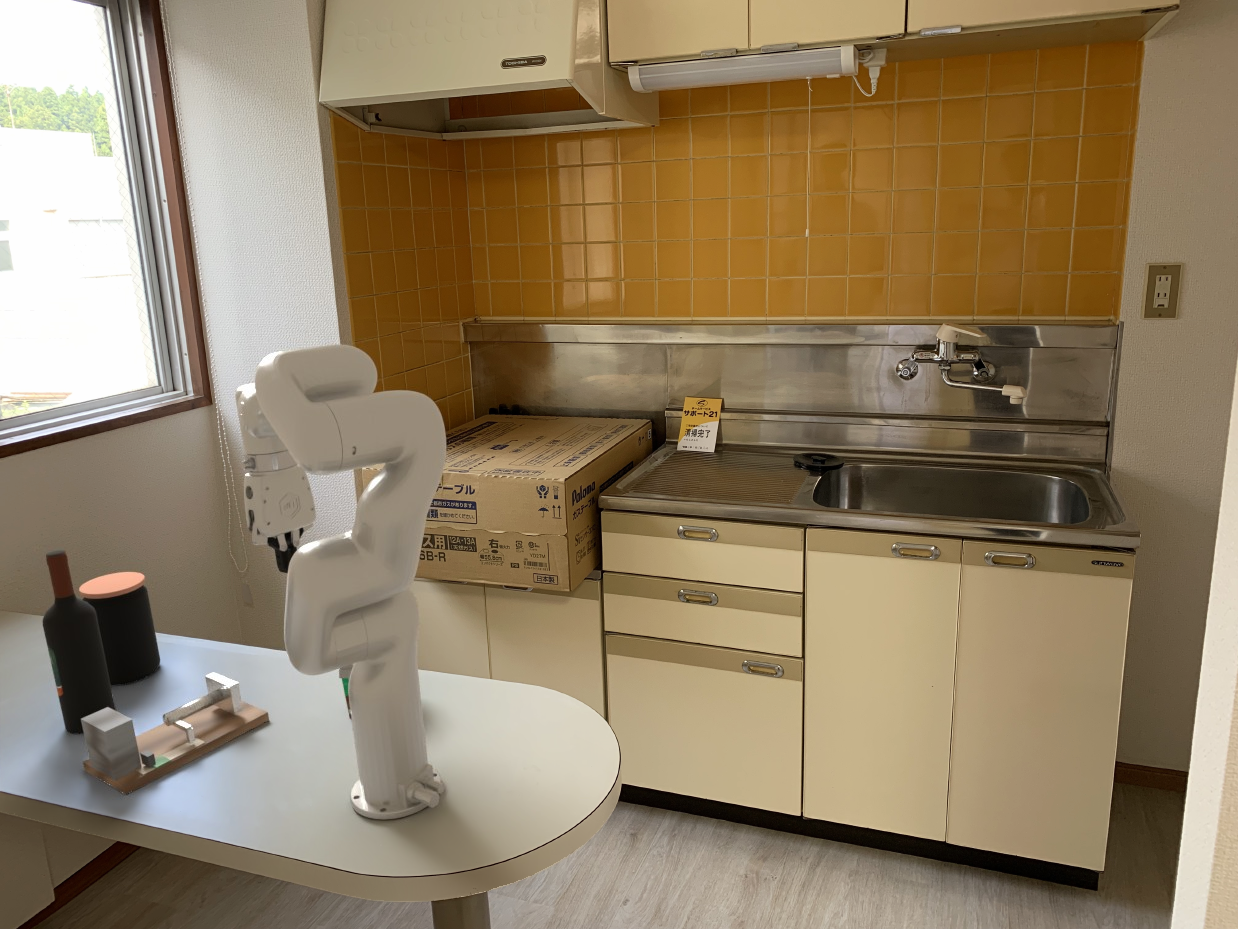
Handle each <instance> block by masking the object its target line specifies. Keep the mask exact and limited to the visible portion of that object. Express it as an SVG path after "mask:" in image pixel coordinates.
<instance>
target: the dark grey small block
mask: <svg viewBox="0 0 1238 929" xmlns="http://www.w3.org/2000/svg"><path fill="white" fill-rule="evenodd" d="M140 754H141V759H142V764H144V765H146V766H147V767H149V768H150V767H152V766H154V765H156V762H155V756H154V753H152V752H150V751H148V750H145V751H143V752H141V753H140Z"/></svg>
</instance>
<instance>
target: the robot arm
mask: <svg viewBox="0 0 1238 929" xmlns="http://www.w3.org/2000/svg"><path fill="white" fill-rule="evenodd" d="M377 383H378V370H377V367H376V365H375V363H374V361H373V359H372V358H371V357H370V355H368V354H367V353H366V352H365V351H364V350H362V349H360V348H358V347H356V346H352V345H349V344H329V345H319V346H312V347H311V346H310V347H305V348H298V349H288V350H281V351H276V352H273V353H269V354H268V355H267V356H265V357H264V358H263V359H262V361H260V363H259V365H258V366H257V369H256V371H255V376H254V382H252V383H247V384H243V385H240V386H239V387H238V388H237V389H236V391H235V394H234V395H235V403H236V409H237V416H238V421H239V428H240V433H241V440H242V447H243V451H244V455H243V456H244V457H243V458H244V459H243V460H241V461H240V462H239V467H240V469H241V470H243V471H244V470H246V472H247V473H245V474H244V480H243V483H244V484H243V498H244V511H245V519H246V525H247V529H248V532H249V533H250V534H251V543H252V544H253V545H256V546H268V547H269V548H271V550H274V554H275V561H276V566H277V568H278V571H279V572H280V573H284V574H287V578H286V591H285V608H284V619H283V621H284V623H283V639H284V641H283V642H284V648H285V650H286V655H287V657H288V660H289V662H290V664H291V665H292V666H293V668H294V669H295V670H296V671H297V672H299V673H301V674H303V675H306V676H319V675H324V674H326V673H327V674H328V673H331V672H333V671H336V670H339V669H340V668H342V667H345V666H348V665H351V664H354V666H353V668H352V671H351V674H350V678H349V684H348V694H349V703H350V711H351V718H350V719H351V724H352V732H353V740H354V746H355V748H354V749H355V755H356V756H355V757H356V762H357V770H358V778H359V779H358V780H356V782H355V783H354V785H352V787H351V790H350V792H349V793H350V794H349V799H350V804H351V806H352V808H353V809H354V811H355V812H356V813H357V814H359V815H361V816H363V817H366V818H369V819H373V820H395V819H400V818H404V817H407V816H411V815H413V814H416V813H418V812H420V811H422V810H424V809H425V808H427V807H429V808H432V809H433V808H436V807H437V805H438V804H439V802H440V798H441V796H440V794H442V793H444V791H445V790H446V785H445V783H443V782H442V778H441V774H440V772H439V771H438V770H437V769H436V768H434V767H433V765H432V764H429V759H428V750H427V749H428V748H427V741H426V733H425V732H426V731H425V723H424V714H423V706H422V696H421V684H420V676H419V666H418V664H419V663H418V644H419V642H418V641H419V630H420V609H419V604H418V601H417V598H416V596H415V593H414V592H413V591H412V589H411V588H410V587H411V586H412V585H413V583H414V580H415V577H416V574H417V571H418V567H419V561H420V558H421V557H420V556H421V551H422V545H423V540H424V535H425V531H426V530H425V529H426V522H427V517H428V513H429V510H430V508H431V504H432V502H433V500H434V497H435V495H436V493H437V491H438V488H439V485H440V482H441V480H442V478H443V477H442V476H443V473H444V468H445V465H446V464H445V463H446V459H447V458H446V456H447V436H446V429H445V422H444V420H443V416H442V413H441V411H440V409H439V407H438V405H437V404H436V403H435V401H434V400H433V399H431V397H429V396H428V395H426V394H424V393H421V392H417V391H414V390H413V391H412V390H407V389H406V390H404V389H403V390H402V389H400V390H397V389H396V390H385V391H384V390H383V391H378V392H377V391H376V392H374V391H375V390H376V386H377ZM380 464H381V465H382V464H384V466H383V467H382V468H381V469H380V470H379V471H378V472H377V474H376V475H374V476H373V478H372V479H371V480H370V482H369V483H368V484H367V486H366V487H364V488H365V489H364V490H363V492H362V494H361V495H360V497H359V499H358V502H357V505H356V509H355V517H354V518H355V519H354V525H353V526H352V528H350V529H349V530H347V531H344V532H342V533H339V534H335V535H332V536H327V537H325V538H320V539H317V540H313V541H311V542H308V543H305V544H304V545H302V546H301V547H299V545H300V543H301V542H300V540H301V538H302V536H303V534H304V533H305V532H307V531H308V530H310V529H311V528H312V527H313V525H314V524H313V523H314V522H315V521H316V520H317V512H316V506H315V501H314V496H313V493H312V488H311V484H310V481H309V478H308V476H307V473H308V474H310V475H315V476H328V475H334V474H339V473H344V472H349V471H354V470H358V469H363V468H367V467H371V466H377V465H380ZM297 547H299V548H297Z"/></svg>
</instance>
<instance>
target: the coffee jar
mask: <svg viewBox="0 0 1238 929" xmlns="http://www.w3.org/2000/svg"><path fill="white" fill-rule="evenodd" d="M145 583H146V576H145V575H144V574H143V573H142V572H135V571H122V572H121V571H120V572H116V573H115V572H113V573H109V574H104V575H101V576H97V577H95V578H92V579H90V580H88V581H85V582H84V583H82V584H81V585H80V587H78V588H79V589H78V593H79V595H80V596H81V597H82V599H81V600H83V601H86V602H88V603H89V604H90V605H91V606H92V607H94V609H95V612H96V616H97V621H98V626H99V631H100V635H101V640H102V645H103V650H104V655H105V660H106V665H107V670H108V675H109V680H110V684H111V686H124V685H129V684H134V683H137V682H139V681H143V680H145V679H146V678H148V677H151V676H152V675H153V674H154V673H155V672H156V671H157V670H158V669H159V666H160V663H161V657H160V656H161V655H160V650H159V646H158V640H157V635H156V629H155V624H154V617H153V613H152V608H151V602H150V596H149V591H148V588H147V587H146V586H145Z"/></svg>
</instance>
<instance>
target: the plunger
mask: <svg viewBox="0 0 1238 929" xmlns="http://www.w3.org/2000/svg"><path fill="white" fill-rule="evenodd" d="M204 678H205V683H206V687H207V694H205V695H202V696H201V697H199V698H196V699H193V700H192V701H190V702H188V703H186V704H183V705H181V706H178V707H177V708H174V709H172V710H171V711H168V712H166V713H164V714H162V721H163V723H165V724H166V725H167V726H171V725H173V726H175V727H177V728H179V729H181V730H183V731H185V732H186V738H187V742H188V743H192V742H194V741H195V738H194V733H193V728H192V727H191V725H189V724H187V723H185V722H183V721H181V720H183V719H185V718H187V717H189V716H191V715H193V714H196V713H198V712H200V711H202V710H204V709H206V708H208V707H210V706H212V705H215V706H217V707H219V708H222V709H224V710H226V711H228V712H231V713H233V714H236V713H238V712H240V711H242V710H243V708H242V702H241V701H242V697H241V696H242V695H241V691H240V684H239V682H238V681H236V680H233V679H231V678H228V677H226V676H224V675H221V674H219V673H216V672H211V673H209V674H206V675H205V676H204Z"/></svg>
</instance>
